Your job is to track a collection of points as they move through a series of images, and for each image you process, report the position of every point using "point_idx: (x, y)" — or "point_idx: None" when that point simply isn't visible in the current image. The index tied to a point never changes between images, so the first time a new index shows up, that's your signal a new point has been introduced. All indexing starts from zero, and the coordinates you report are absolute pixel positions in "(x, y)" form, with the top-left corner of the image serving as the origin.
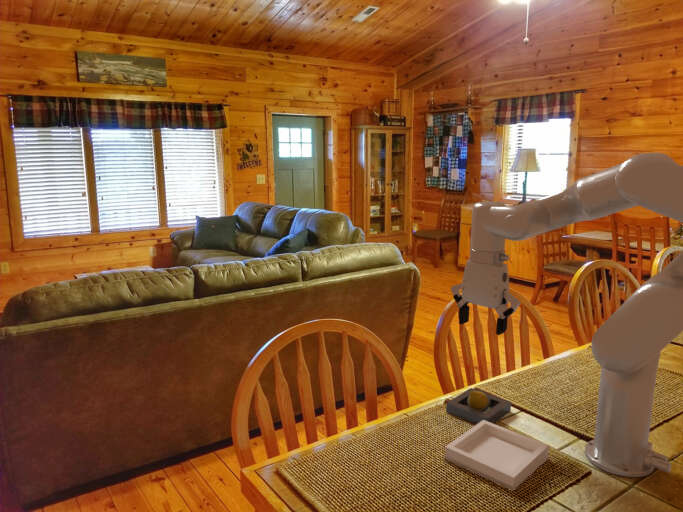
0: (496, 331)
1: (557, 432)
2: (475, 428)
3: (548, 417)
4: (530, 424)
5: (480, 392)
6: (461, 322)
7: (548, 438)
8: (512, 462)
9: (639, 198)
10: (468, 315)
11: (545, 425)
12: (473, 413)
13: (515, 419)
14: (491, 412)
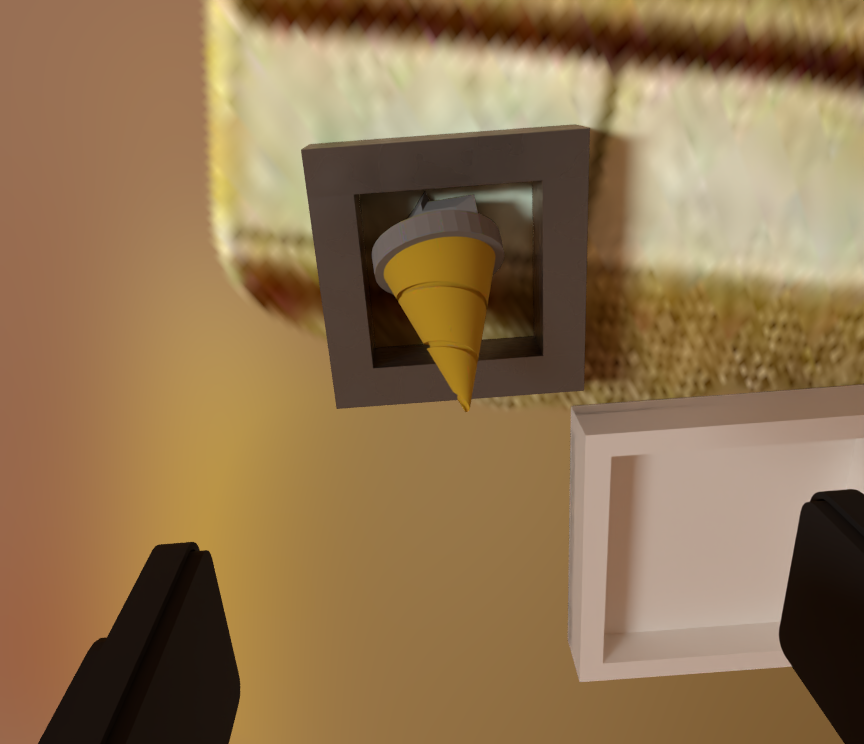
0: (807, 678)
1: (859, 143)
2: (598, 518)
3: (773, 15)
4: (718, 174)
5: (456, 282)
6: (227, 713)
7: (835, 233)
8: (786, 532)
9: None
10: (182, 636)
11: (786, 121)
12: (501, 394)
13: (634, 186)
14: (567, 326)
